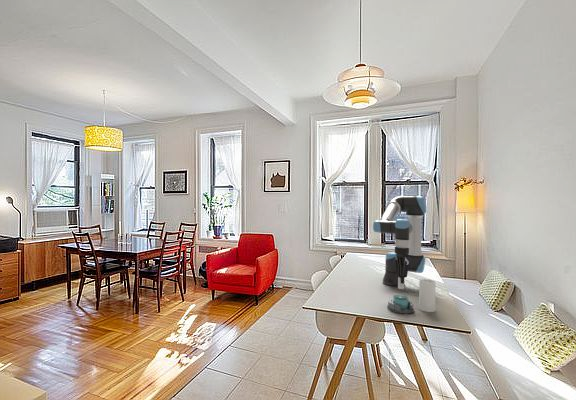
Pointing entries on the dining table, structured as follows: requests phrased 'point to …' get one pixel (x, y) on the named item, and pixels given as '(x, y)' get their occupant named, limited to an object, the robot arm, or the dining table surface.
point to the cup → (427, 295)
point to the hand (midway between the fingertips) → (400, 288)
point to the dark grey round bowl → (397, 308)
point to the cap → (401, 301)
